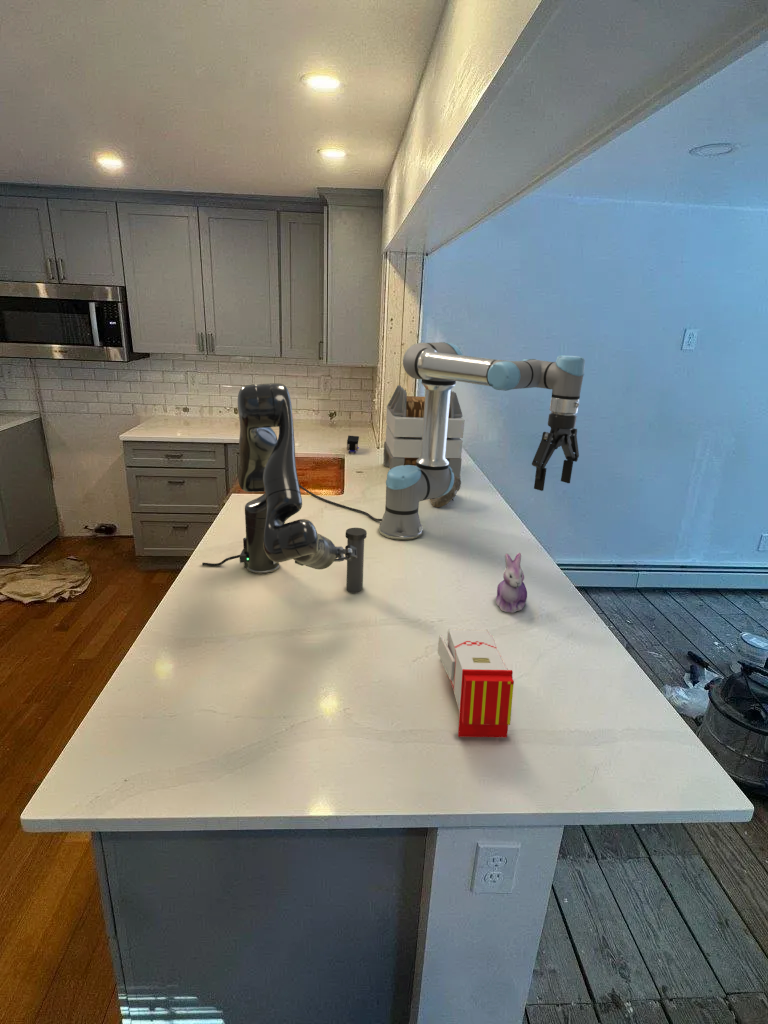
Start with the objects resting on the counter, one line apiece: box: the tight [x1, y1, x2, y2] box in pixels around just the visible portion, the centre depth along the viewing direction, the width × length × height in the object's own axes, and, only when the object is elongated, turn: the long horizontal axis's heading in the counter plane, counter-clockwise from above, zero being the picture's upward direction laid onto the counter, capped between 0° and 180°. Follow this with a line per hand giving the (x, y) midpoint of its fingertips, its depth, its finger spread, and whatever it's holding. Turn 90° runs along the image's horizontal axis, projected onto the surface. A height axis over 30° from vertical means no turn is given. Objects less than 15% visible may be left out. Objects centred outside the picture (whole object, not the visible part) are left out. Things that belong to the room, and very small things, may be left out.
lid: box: [345, 527, 367, 541], centre depth 154 cm, size 6×6×2 cm
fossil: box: [429, 476, 462, 508], centre depth 235 cm, size 22×10×15 cm
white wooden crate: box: [383, 384, 465, 479], centre depth 268 cm, size 34×33×41 cm
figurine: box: [495, 552, 528, 614], centre depth 152 cm, size 9×10×15 cm
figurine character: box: [346, 435, 360, 455], centre depth 309 cm, size 7×8×15 cm
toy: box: [437, 628, 515, 738], centre depth 117 cm, size 12×13×30 cm
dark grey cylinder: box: [345, 539, 365, 594], centre depth 156 cm, size 5×5×17 cm
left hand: (333, 558), depth 141 cm, fingers open, 8 cm apart
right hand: (552, 485), depth 166 cm, fingers open, 13 cm apart
